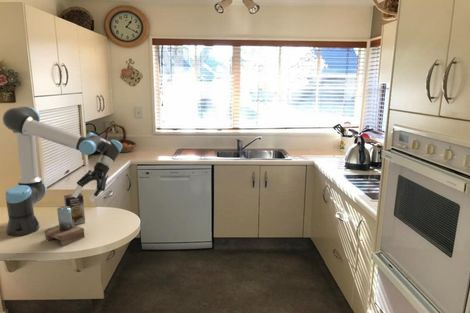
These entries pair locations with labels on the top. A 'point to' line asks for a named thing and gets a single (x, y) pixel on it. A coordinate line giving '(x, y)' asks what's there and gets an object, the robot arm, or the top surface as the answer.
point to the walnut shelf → (65, 235)
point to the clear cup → (65, 218)
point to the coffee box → (76, 208)
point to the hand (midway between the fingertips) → (82, 199)
